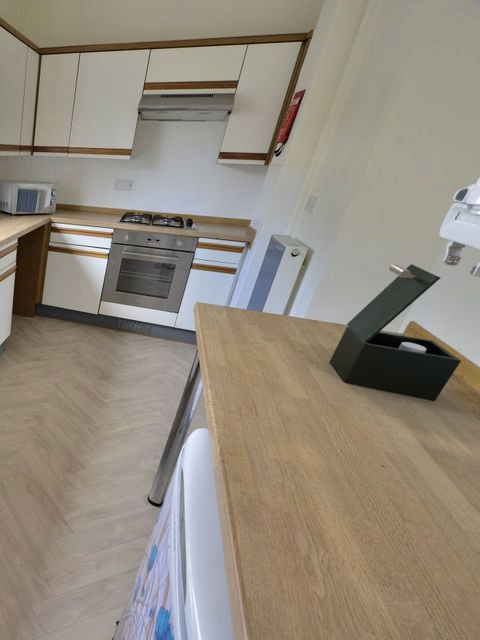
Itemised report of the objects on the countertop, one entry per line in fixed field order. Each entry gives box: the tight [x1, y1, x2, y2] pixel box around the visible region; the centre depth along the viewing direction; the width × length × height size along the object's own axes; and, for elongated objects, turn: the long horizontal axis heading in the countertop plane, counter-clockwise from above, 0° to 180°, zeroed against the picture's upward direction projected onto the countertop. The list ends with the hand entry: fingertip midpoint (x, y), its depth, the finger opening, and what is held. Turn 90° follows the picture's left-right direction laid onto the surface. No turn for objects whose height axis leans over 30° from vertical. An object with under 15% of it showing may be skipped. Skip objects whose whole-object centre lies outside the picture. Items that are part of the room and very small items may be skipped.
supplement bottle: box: [399, 342, 427, 353], centre depth 91 cm, size 5×5×8 cm
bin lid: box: [346, 263, 442, 343], centre depth 88 cm, size 16×11×4 cm
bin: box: [329, 326, 462, 402], centre depth 91 cm, size 16×11×10 cm
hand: (462, 270), depth 81 cm, fingers open, 8 cm apart
